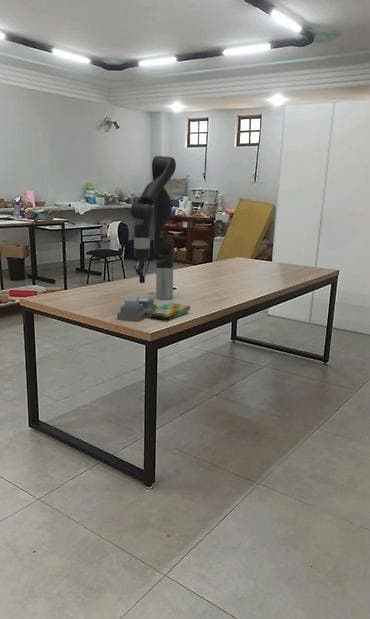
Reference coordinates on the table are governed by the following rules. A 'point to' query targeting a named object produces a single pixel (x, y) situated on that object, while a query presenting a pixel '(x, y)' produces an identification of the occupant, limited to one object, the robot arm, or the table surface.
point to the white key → (143, 299)
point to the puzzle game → (168, 310)
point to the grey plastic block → (136, 311)
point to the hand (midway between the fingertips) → (142, 282)
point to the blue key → (131, 302)
